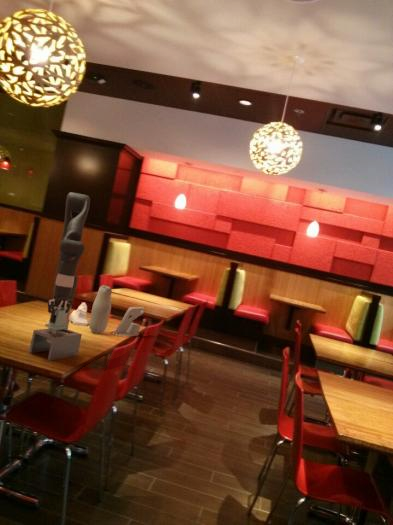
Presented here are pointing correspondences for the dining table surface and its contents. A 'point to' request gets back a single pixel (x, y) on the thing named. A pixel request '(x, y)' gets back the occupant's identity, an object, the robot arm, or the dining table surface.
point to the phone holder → (129, 322)
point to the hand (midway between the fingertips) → (56, 322)
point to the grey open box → (56, 343)
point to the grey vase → (101, 310)
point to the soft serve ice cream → (80, 315)
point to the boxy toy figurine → (56, 323)
